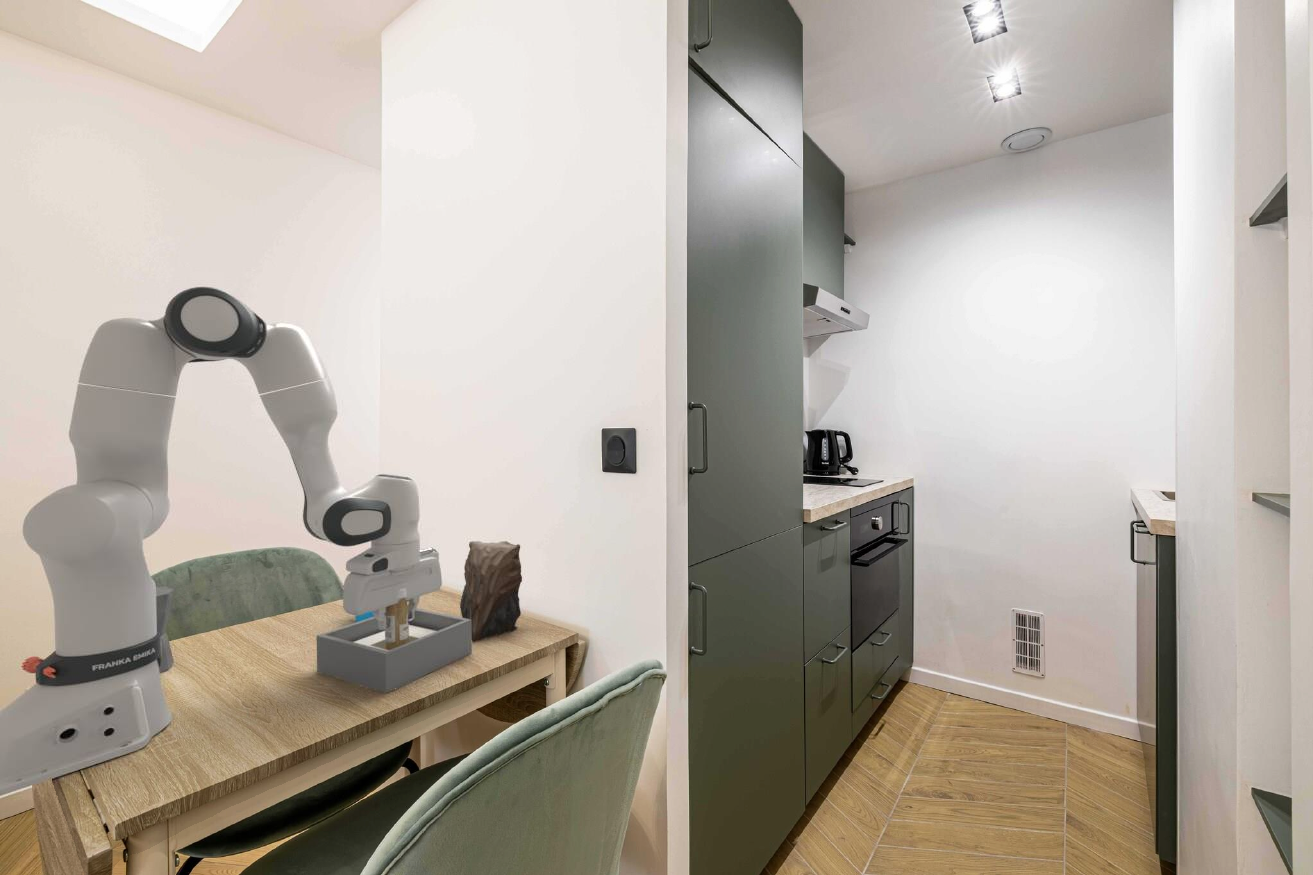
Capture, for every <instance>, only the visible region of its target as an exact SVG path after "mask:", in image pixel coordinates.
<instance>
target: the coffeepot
mask: <svg viewBox="0 0 1313 875" xmlns="http://www.w3.org/2000/svg"><path fill="white" fill-rule="evenodd" d="M173 594H174V588H171V586H156V614H157V632H159V633H160V640H161V644H162V657H161V666H160V667H159V672H160V674H163V673H165V672H166V671H168V670H170V669H171V668H172V667H173V664H174V662H175V660H174V657H173V653H172V647H171V644H170V640H169V636H168V633H166V626H167V624H168V623H169V617H170V613H171V606H172V601H173V600H172V599H173Z"/></svg>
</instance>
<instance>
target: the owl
mask: <svg viewBox="0 0 1313 875" xmlns="http://www.w3.org/2000/svg"><path fill="white" fill-rule="evenodd" d="M468 547H469V551H468V554H467V558H466V559H465V562H464V573H463V575H464V581H465V584H464V587H463V589H462V590H463V591H462V594H461V598H460V602H459V606H460V607H459V608H460V615H461V618H466V619H471V623H472V642H479V641H481V640H484V639H488V638H492V637H495V636H500V635H502V634H504V633H509V632H513V631H515V630H517V629H518V626H516V623H517V621H518V619H519V618H520V616H521V615H522V614H521V613H522V611H521V607H520V598H519V590H520V586H521V583H522V582H523V576H522V564H521V561H520V551H521V544H519V543H517V544H514V543H511V542H508V541H507V540H505V541H503V540H502V541H499V542H483V541H479V540H478V541H470V542H469V543H468Z"/></svg>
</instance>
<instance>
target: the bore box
mask: <svg viewBox="0 0 1313 875" xmlns="http://www.w3.org/2000/svg"><path fill="white" fill-rule="evenodd" d="M384 614H385V613H384ZM408 623H409V643H406V644H404V645H401V646H399V647H396V648H394V649H391V650H386V641H385V630H380V629H379V628H378V620H377V619H376V617H372V618H369V619H366V620H362V621H359V622H356V621H355V622H353V623H351V624H347V625H344V626H342V627H339V628H335V629H332V630H330V631H327V632H324V633H321V634H317V635H316V672H317V673H320V674H323V675H326V676H329V677H332V678H335V679H338V680H342V681H345V682H347V683H352V684H354V683H355V684H354V685H357V686H360V685H362V686H361V687H364V686H365V688H367V687H368V688H367V689H370V688H371V689H370V690H373V689H374V691H376V690H378V691H377V692H380V693H383V692H386V693H387V692H389V693H391V692H392V691H391V690H393V691H395V690H396V689H395V688H397V689H399V688H401V687H403V685H404V686H405V685H407V684H410V683H412V682H414V681H416V680H418V679H421V678H422V676H423V677H424V675H425V676H427V675H429V674H431V673H433V672H435V671H437V670H439V669H441V668H444V667H445V666H448V665H450V664H452V663H454V662H456V661H458V660H460V659H463V658H464V657H467V656H469V655H471V654H472V653H473V652H472V651H473V648H472V645H473V644H472V642H473V641H472V623H471V619H466V618H462V616H461V617H460V616H455V615H450V614H445V613H441V612H435V611H431V610H426V609H421V608H417V607H416V609H415V611H414V619H413V620H410V621H408ZM430 672H431V673H430ZM428 673H429V674H428ZM426 674H427V675H426ZM400 686H401V687H400ZM394 689H395V690H394ZM390 691H391V692H390ZM386 693H385V694H386ZM387 694H388V693H387Z"/></svg>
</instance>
